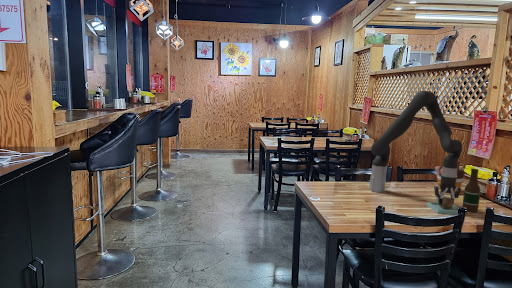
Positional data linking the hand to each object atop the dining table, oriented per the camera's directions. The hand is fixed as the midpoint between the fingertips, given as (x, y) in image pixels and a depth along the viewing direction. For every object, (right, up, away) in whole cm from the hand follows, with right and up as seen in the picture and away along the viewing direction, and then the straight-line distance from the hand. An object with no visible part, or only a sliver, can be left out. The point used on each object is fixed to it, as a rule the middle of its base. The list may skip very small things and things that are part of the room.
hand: (445, 204), depth 196 cm
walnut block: (0, -1, 0) cm, 2 cm away
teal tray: (0, -3, 0) cm, 3 cm away
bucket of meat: (+25, +2, +42) cm, 48 cm away
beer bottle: (+14, -4, +1) cm, 14 cm away
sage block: (+4, -2, +11) cm, 11 cm away
